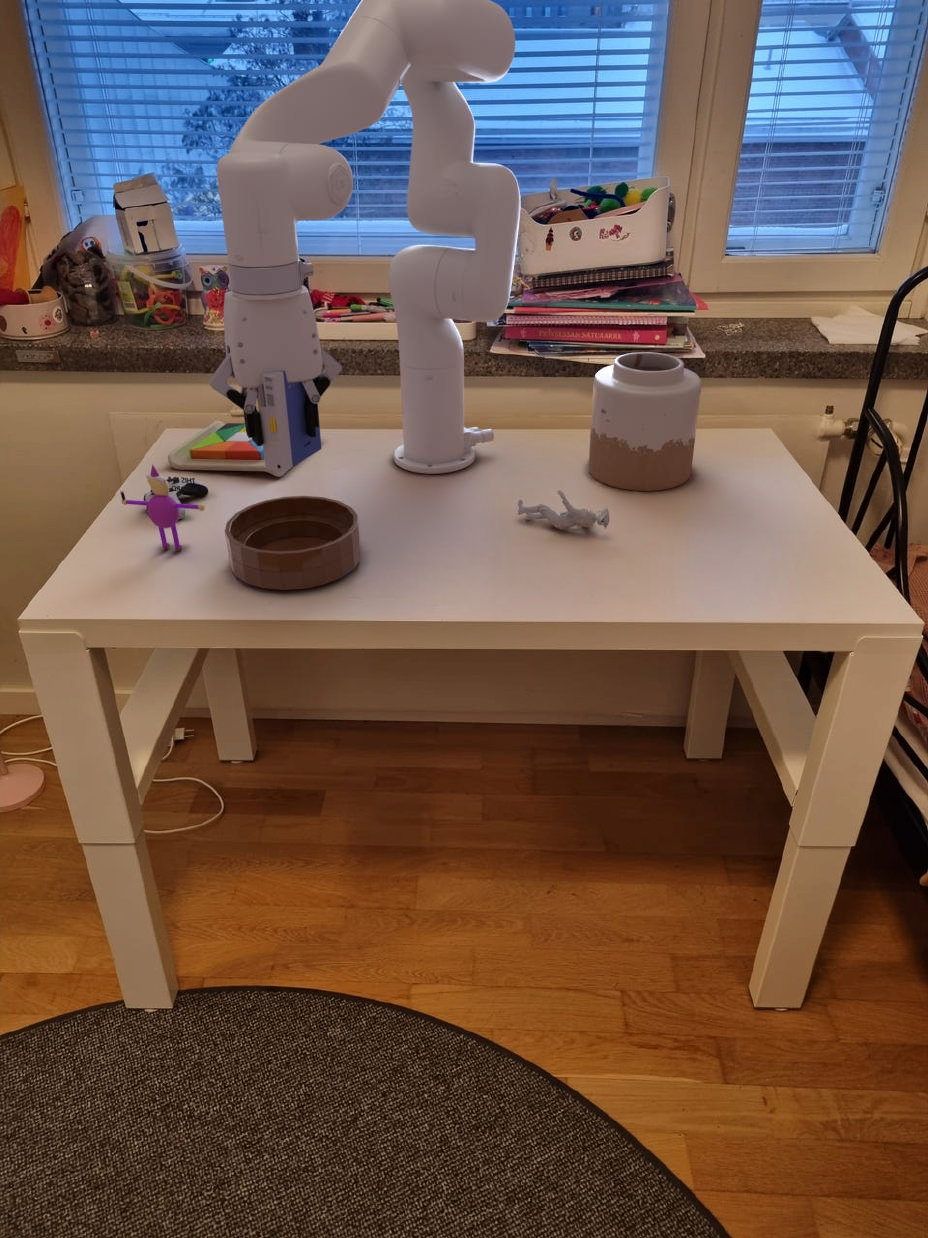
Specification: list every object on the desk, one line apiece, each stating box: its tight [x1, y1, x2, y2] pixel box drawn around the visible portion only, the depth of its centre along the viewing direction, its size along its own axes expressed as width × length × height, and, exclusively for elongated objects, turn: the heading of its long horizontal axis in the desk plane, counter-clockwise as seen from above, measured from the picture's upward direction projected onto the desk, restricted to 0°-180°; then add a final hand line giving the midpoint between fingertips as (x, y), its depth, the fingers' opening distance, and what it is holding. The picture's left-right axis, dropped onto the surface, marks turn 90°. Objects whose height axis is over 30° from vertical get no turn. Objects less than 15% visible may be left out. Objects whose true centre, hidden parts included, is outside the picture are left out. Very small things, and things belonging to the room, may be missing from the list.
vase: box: [588, 351, 702, 492], centre depth 142 cm, size 15×15×17 cm
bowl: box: [224, 495, 362, 591], centre depth 121 cm, size 16×16×6 cm
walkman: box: [256, 371, 322, 473], centre depth 113 cm, size 8×3×12 cm, turn 151°
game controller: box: [143, 476, 210, 520], centre depth 137 cm, size 10×5×6 cm
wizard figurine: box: [119, 464, 205, 552], centre depth 122 cm, size 11×3×12 cm, turn 79°
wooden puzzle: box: [167, 420, 289, 478], centre depth 153 cm, size 18×19×4 cm
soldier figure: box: [517, 489, 610, 531], centre depth 129 cm, size 8×5×12 cm
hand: (283, 436), depth 114 cm, fingers closed on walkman, 5 cm apart
